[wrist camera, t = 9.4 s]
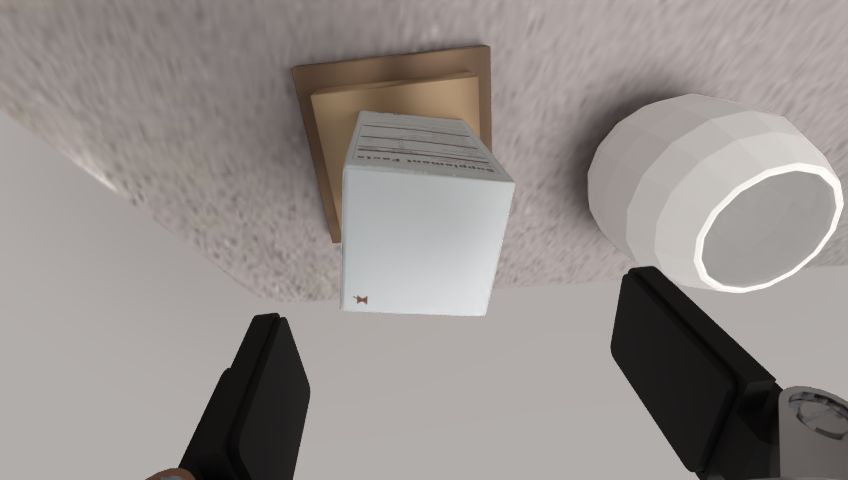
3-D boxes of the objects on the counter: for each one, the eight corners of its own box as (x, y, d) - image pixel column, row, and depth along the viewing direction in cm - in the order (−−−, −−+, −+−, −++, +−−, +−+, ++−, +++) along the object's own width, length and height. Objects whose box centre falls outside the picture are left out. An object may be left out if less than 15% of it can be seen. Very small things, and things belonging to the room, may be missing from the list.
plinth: (484, 44, 30) (500, 49, 26) (487, 213, 37) (501, 240, 32) (296, 65, 30) (281, 73, 25) (335, 232, 36) (328, 261, 32)
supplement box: (451, 215, 31) (486, 323, 20) (354, 206, 30) (334, 315, 19) (468, 117, 27) (522, 182, 16) (358, 104, 26) (338, 164, 15)
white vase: (583, 87, 32) (697, 126, 20) (740, 82, 33) (937, 116, 21) (559, 233, 38) (635, 327, 27) (691, 226, 39) (821, 314, 27)
